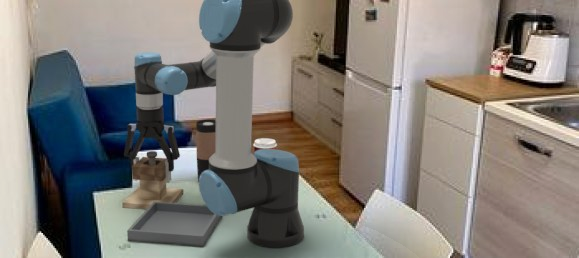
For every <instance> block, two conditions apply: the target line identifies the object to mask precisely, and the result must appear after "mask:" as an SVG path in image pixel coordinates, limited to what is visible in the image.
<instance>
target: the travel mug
mask: <svg viewBox="0 0 579 258" xmlns="http://www.w3.org/2000/svg"><path fill="white" fill-rule="evenodd" d="M195 125H196V126H195V127H196V130H195V134H196V136H195V137H196V168H197V169H196V170H197V182H198V183H199V177H200V175H201V174H202V172H204V171H205V170H209V158H210V157H211V156H212V155H213V154H214V153H215V138H216V119H210V118H209V119H201V120H198V121H196V123H195Z"/></svg>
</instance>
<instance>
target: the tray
mask: <svg viewBox="0 0 579 258" xmlns="http://www.w3.org/2000/svg"><path fill="white" fill-rule="evenodd" d="M222 217H223V216H219V215H216V214H214V213H213V212H211V211H210V210H209V208H208V207H207V206H206V204H193V203H181V202H179V203H177V202H176V203H167V202H153V203H152V204H151V205H150V206H149V207H148V209H145V210H144V212H142V214H140V216H139V217H138V218H137V219H136V220H135V221H134V222H133V223H132V225H131V226H129V228H128V229H127V231H126V232H127V233H126V234H127V242H135V243H148V244H159V245H161V244H162V245H171V246H173V245H174V246H183V247H185V246H187V247H196V248H197V247H199V248H204V246H205V245H206V243H207V241H208V240H209V238H210V237H211V236H212V233H213V232H214V230H215V229H216V227H217V225H218V224H219V222H220V220H221V219H222Z"/></svg>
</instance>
